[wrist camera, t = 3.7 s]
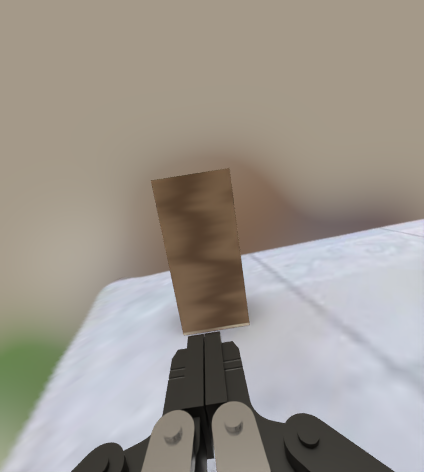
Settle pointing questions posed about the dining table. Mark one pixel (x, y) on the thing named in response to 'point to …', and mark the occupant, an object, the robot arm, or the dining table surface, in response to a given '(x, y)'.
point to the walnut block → (203, 250)
